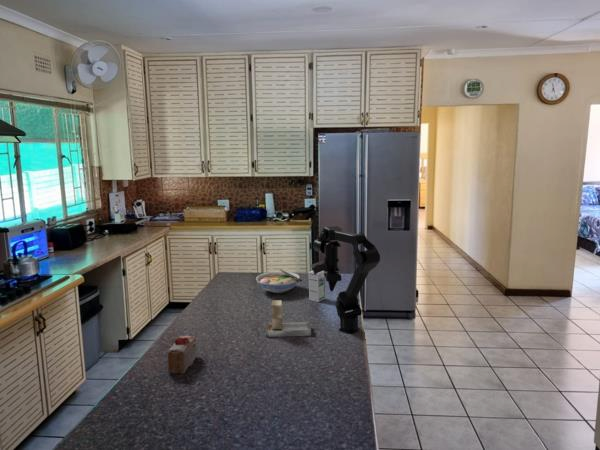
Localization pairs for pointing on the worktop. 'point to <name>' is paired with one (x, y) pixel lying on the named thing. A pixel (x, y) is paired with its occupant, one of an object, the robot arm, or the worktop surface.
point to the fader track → (289, 329)
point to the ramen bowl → (278, 281)
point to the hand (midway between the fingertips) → (331, 291)
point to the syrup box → (316, 286)
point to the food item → (182, 354)
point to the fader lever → (277, 315)
